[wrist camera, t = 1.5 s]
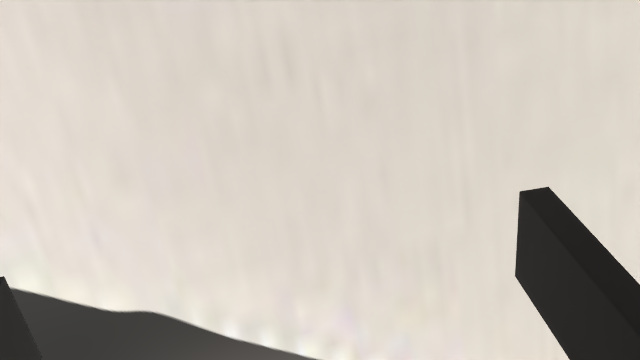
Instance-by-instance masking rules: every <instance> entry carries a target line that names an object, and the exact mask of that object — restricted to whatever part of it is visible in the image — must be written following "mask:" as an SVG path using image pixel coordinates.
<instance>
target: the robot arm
mask: <svg viewBox="0 0 640 360" xmlns="http://www.w3.org/2000/svg"><path fill="white" fill-rule="evenodd" d="M515 277H516V278H517V280H518V281H519V283H520V284H521V286H522V287H523V289H524V290H525V292H526V293H527V295H528V296H529V298H530V299H531V301H532V303H533V304H534V306H535V307H536V309H537V310H538V312H539V313H540V315H541V316H542V318H543V319H544V321H545V322H546V324H547V325H548V327H549V329H550V330H551V332H552V333H553V335H554V336H555V338H556V339H557V341H558V342H559V344H560V345H561V347H562V348H563V350H564V351H565V353H566V354H567V356H568V358H569V359H570V360H640V285H639V284H638V282H637V281H636V280H635V279H634V278H633V277H632V276H631V275H630V274H629V273H628V272H627V271H626V270H625V268H624V267H623V266H622V265H621V264H620V263H619V262H618V261H617V260H616V259H615V258H614V257H613V256H612V255H611V253H610V252H609V251H608V250H607V249H606V248H605V247H604V246H603V245H602V244H601V243H600V242H599V241H598V239H597V238H596V237H595V236H594V235H593V234H592V233H591V232H590V231H589V230H588V229H587V228H586V227H585V226H584V224H583V223H582V222H581V221H580V220H579V219H578V218H577V217H576V216H575V215H574V214H573V213H572V212H571V210H570V209H569V208H568V207H567V206H566V205H565V204H564V203H563V202H562V201H561V200H560V199H559V198H558V197H557V195H556V194H555V193H554V192H553V191H552V190H551V189H550V188H549V187H545V188H539V189H532V190H526V191H520V195H519V214H518V233H517V251H516V270H515ZM41 359H42V355H41V353H40V351H39V349H38V347H37V345H36V343H35V341H34V339H33V336H32V334H31V332H30V330H29V328H28V326H27V324H26V322H25V320H24V317H23V315H22V313H21V311H20V309H19V307H18V305H17V303H16V301H15V299H14V296H13V294H12V292H11V290H10V288H9V286H8V284H7V282H6V279H5V277H4V276H3V277H0V360H41Z"/></svg>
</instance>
